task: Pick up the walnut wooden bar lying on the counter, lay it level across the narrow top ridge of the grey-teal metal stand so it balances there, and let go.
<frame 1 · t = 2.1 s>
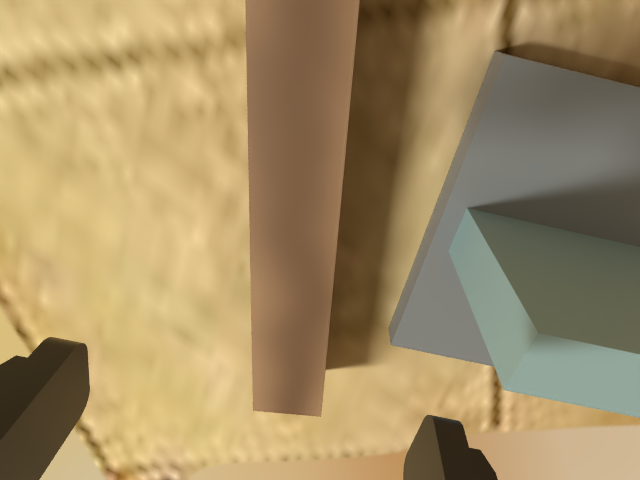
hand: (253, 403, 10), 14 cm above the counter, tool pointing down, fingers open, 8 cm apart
ridge stand: (541, 237, 23), on the counter
walnut bar: (302, 180, 23), on the counter
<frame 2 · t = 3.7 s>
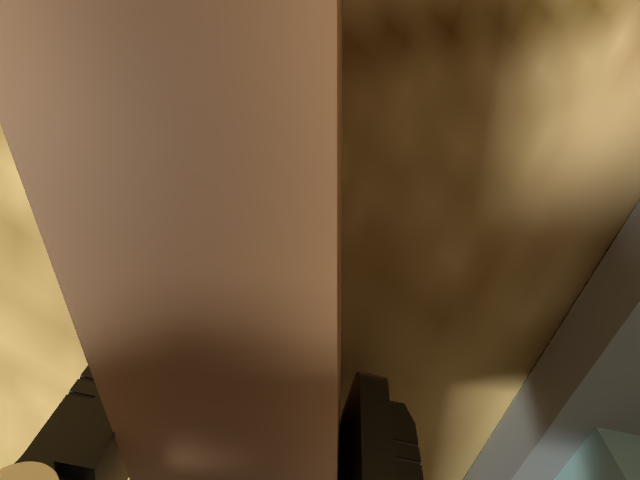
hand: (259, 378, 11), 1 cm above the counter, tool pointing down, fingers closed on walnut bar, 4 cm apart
walnut bar: (267, 348, 12), on the counter, touching gripper
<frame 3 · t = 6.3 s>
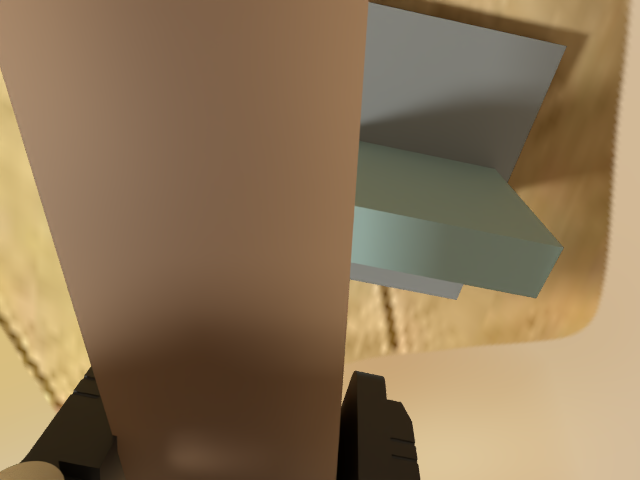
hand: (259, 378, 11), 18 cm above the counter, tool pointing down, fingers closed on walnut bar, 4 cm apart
ridge stand: (400, 163, 27), on the counter
walnut bar: (266, 355, 12), point 17 cm above the counter, touching gripper
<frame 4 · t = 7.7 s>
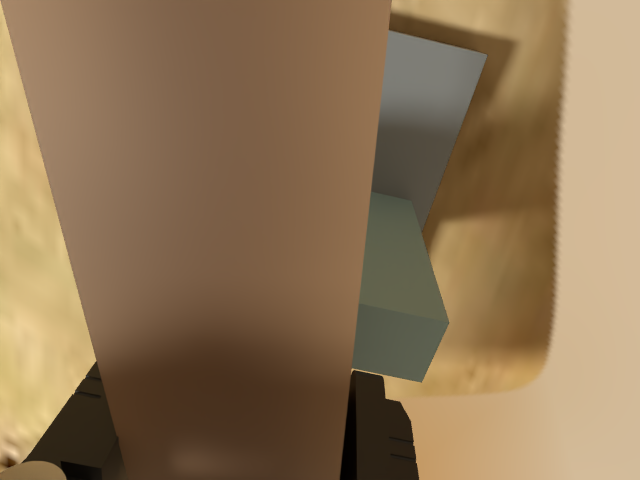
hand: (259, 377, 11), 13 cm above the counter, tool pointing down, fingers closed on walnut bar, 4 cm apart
ridge stand: (305, 189, 22), on the counter
walnut bar: (267, 357, 12), point 12 cm above the counter, touching gripper
when the fingers open (12 cm above the counter, at t = 8.9 s): walnut bar stays where it is, resting on ridge stand.
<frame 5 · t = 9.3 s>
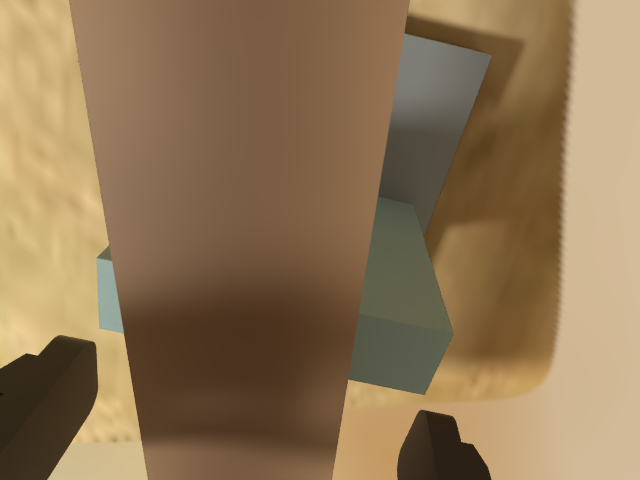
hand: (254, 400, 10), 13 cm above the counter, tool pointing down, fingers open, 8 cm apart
ridge stand: (305, 193, 22), on the counter
walnut bar: (269, 337, 13), point 10 cm above the counter, touching ridge stand
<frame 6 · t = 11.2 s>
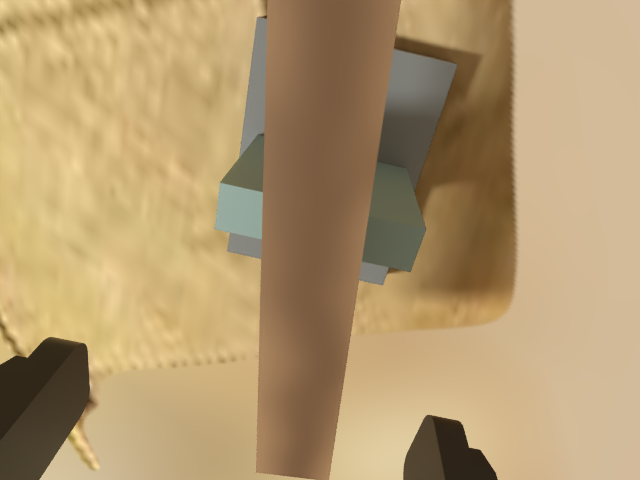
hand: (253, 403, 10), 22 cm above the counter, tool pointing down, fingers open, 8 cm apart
ridge stand: (329, 162, 30), on the counter
walnut bar: (317, 233, 21), point 10 cm above the counter, touching ridge stand
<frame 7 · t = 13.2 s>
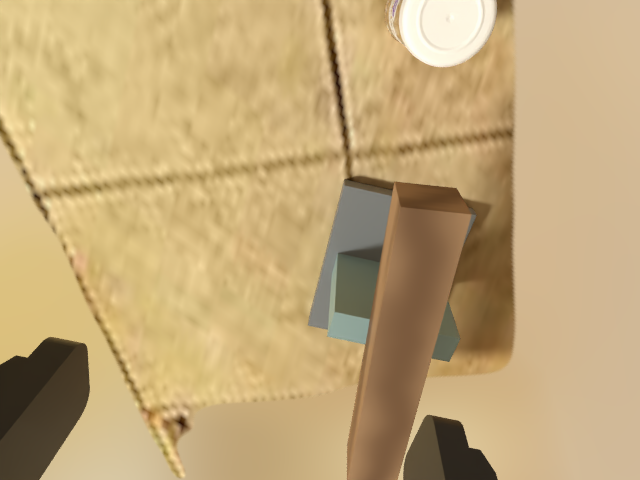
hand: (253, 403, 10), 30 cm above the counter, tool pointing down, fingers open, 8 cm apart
sprinkles bottle: (414, 13, 33), on the counter
ridge stand: (384, 266, 43), on the counter
walnut bar: (392, 339, 34), point 10 cm above the counter, touching ridge stand
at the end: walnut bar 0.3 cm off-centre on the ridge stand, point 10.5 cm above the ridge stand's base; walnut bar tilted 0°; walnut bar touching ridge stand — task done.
